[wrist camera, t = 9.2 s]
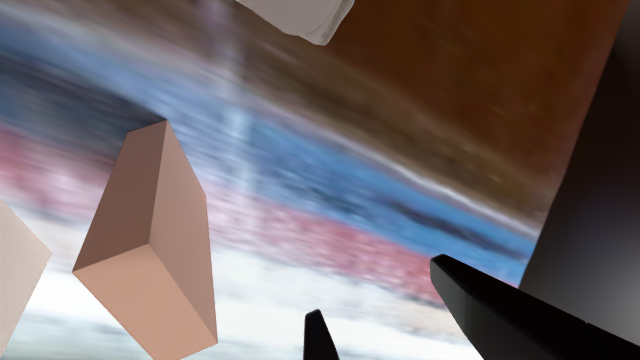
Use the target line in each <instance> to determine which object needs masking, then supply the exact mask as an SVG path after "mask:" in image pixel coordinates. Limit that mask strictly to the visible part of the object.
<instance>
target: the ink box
mask: <svg viewBox="0 0 640 360" xmlns="http://www.w3.org/2000/svg"><path fill="white" fill-rule="evenodd" d="M235 1H237V2H239V3H241V4H242V5H244V6H246V7H248V8H249V9H251V10H253V11H254V12H255V13H257V14H258V15H259V16H261V17H262V18H263V19H265V20H266V21H268V22H270V23H271V24H272V25H274V26H275V27H277V28H278V29H280V30H281V31H282V32H284V33H286V34H290V35H299V36H301V37H302V38H304V39H306V40H308V41H310V42H312V43H313V44H318V45H326V44H327V43H328V42H329V41H330V39H331V37H332V36H333V34H334V32H335V31H336V29H337V27H338V26H339V24H340V22H341V21H342V20H343V18H344V17H345V16H346V14H347V13H348V12H349V10H350V9H351V7H352V6H353V3H354V1H355V0H235Z"/></svg>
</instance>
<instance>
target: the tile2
mask: <svg viewBox="0 0 640 360" xmlns="http://www.w3.org/2000/svg"><path fill="white" fill-rule="evenodd" d="M51 255H52V252H51V251H50V250H49V249H48V248H47V247H46V245H45V244H44V243H43V242H42V241H41V240H40V239H39V238H38V237H37V236H36V235H35V234H34V233H33V232H32V231H31V230H30V229H29V228H28V227H27V225H26V224H25V223H24V222H23V221H22V220H21V219H20V218H19V217H18V216H17V215H16V214H15V213H14V212H13V211H12V210H11V209H10V208H9V207H8V205H7V204H6V203H5V202H4V201H3V200H2V199H1V198H0V358H1V356H2V354H3V352H4V350H5V348H6V346H7V344H8V341H9V339H10V337H11V335H12V333H13V331H14V329H15V327H16V325H17V323H18V321H19V319H20V317H21V315H22V313H23V311H24V309H25V307H26V305H27V303H28V301H29V299H30V297H31V295H32V293H33V291H34V289H35V287H36V285H37V283H38V281H39V279H40V277H41V275H42V273H43V271H44V269H45V267H46V265H47V263H48V261H49V259H50V257H51Z"/></svg>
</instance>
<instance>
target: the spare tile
mask: <svg viewBox="0 0 640 360" xmlns="http://www.w3.org/2000/svg"><path fill="white" fill-rule="evenodd" d="M72 273H73V274H74V275H75V276H76V277H77V278H78V279H79V280H80V282H81V283H82V284H83V285H84V286H85V287H86V288H87V289H88V290H89V291H90V292H91V293H92V294H93V295H94V296H95V298H96V299H97V300H98V301H99V302H100V303H101V304H102V305H103V306H104V307H105V308H106V309H107V310H108V311H109V313H110V314H111V315H112V316H113V317H114V318H115V319H116V320H117V321H118V322H119V323H120V324H121V325H122V326H123V327H124V329H125V330H126V331H127V332H128V333H129V334H130V335H131V336H132V337H133V338H134V339H135V340H136V341H137V342H138V343H139V345H140V346H141V347H142V348H143V349H144V350H145V351H146V352H147V353H148V354H149V355H150V356H151V357H152V358H153V359H154V360H180V359H182V358H185V357H187V356H189V355H192V354H194V353H196V352H199V351H201V350H203V349H206V348H208V347H210V346H212V345H215V344H217V343H218V338H217V326H216V314H215V301H214V289H213V277H212V265H211V252H210V240H209V228H208V215H207V203H206V195H205V193H204V191H203V189H202V187H201V185H200V183H199V181H198V179H197V177H196V175H195V173H194V171H193V169H192V167H191V165H190V163H189V161H188V159H187V158H186V156H185V154H184V152H183V150H182V148H181V146H180V144H179V142H178V140H177V138H176V136H175V134H174V132H173V130H172V128H171V126H170V124H169V122H168V120H165V121H162V122H158V123H155V124H152V125H149V126H146V127H143V128H140V129H137V130H133V131H130V132H128V133H127V135H126V138H125V140H124V143H123V145H122V148H121V150H120V153H119V155H118V158H117V160H116V163H115V165H114V168H113V170H112V173H111V175H110V178H109V180H108V183H107V185H106V188H105V190H104V193H103V195H102V198H101V200H100V203H99V205H98V208H97V210H96V213H95V215H94V218H93V220H92V223H91V225H90V228H89V230H88V233H87V235H86V238H85V240H84V243H83V245H82V248H81V250H80V253H79V255H78V258H77V260H76V263H75V265H74V268H73V270H72Z"/></svg>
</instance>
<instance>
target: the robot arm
mask: <svg viewBox="0 0 640 360" xmlns="http://www.w3.org/2000/svg"><path fill="white" fill-rule="evenodd" d="M430 277H431V281H432V283H433V285H434V287H435V289H436V290H437V292H438V293H439V295H440V297H441V298H442V300H443V301H444V303H445V305H446V306H447V308H448V309H449V311H450V313H451V314H452V316H453V317H454V319H455V320H456V322H457V324H458V325H459V327H460V328H461V330H462V331H463V333H464V334H465V336H466V337H467V338H468V340H469V341H470V342H471V344H472V345H473V346H474V347H475V349H476V350H477V351H478V353H479V354H480V355H481V356H482V358H483V359H484V360H640V346H638V345H636V344H634V343H631V342H629V341H627V340H625V339H623V338H620V337H618V336H616V335H614V334H612V333H609V332H607V331H605V330H603V329H601V328H599V327H597V326H595V325H593V324H590V323H586V322H585V321H583V320H582V319H580V318H578V317H575V316H573V315H571V314H569V313H567V312H565V311H563V310H561V309H558V308H557V307H555V306H552V305H550V304H548V303H546V302H544V301H542V300H540V299H538V298H535V297H534V296H531V295H529V294H527V293H525V292H523V291H521V290H519V289H517V288H515V287H513V286H511V285H509V284H506V283H504V282H502V281H500V280H498V279H496V278H494V277H492V276H490V275H488V274H485V273H483V272H481V271H479V270H477V269H475V268H473V267H471V266H469V265H467V264H465V263H462V262H460V261H458V260H456V259H454V258H452V257H450V256H448V255H445V254H440V255H438V256H436V257H434V258H431V260H430ZM303 360H340V359H339V356H338V353H337V350H336V348H335V345H334V343H333V340H332V338H331V335H330V333H329V330H328V328H327V326H326V323H325V321H324V318H323V316H322V313H321V311H320V310H319V309H316V310H314V311H312V312H310V313H307V314H306V316H305V327H304V350H303Z"/></svg>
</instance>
